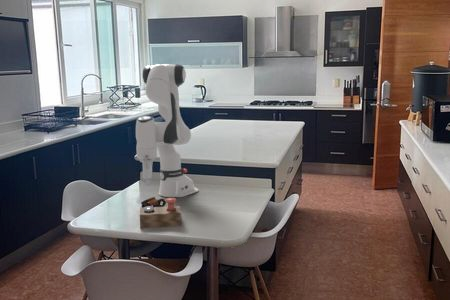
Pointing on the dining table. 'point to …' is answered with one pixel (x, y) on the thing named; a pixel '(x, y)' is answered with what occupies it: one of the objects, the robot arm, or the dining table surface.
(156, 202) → the pottery mug
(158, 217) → the walnut plug panel
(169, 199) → the red plug
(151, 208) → the steel plug
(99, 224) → the dining table surface
